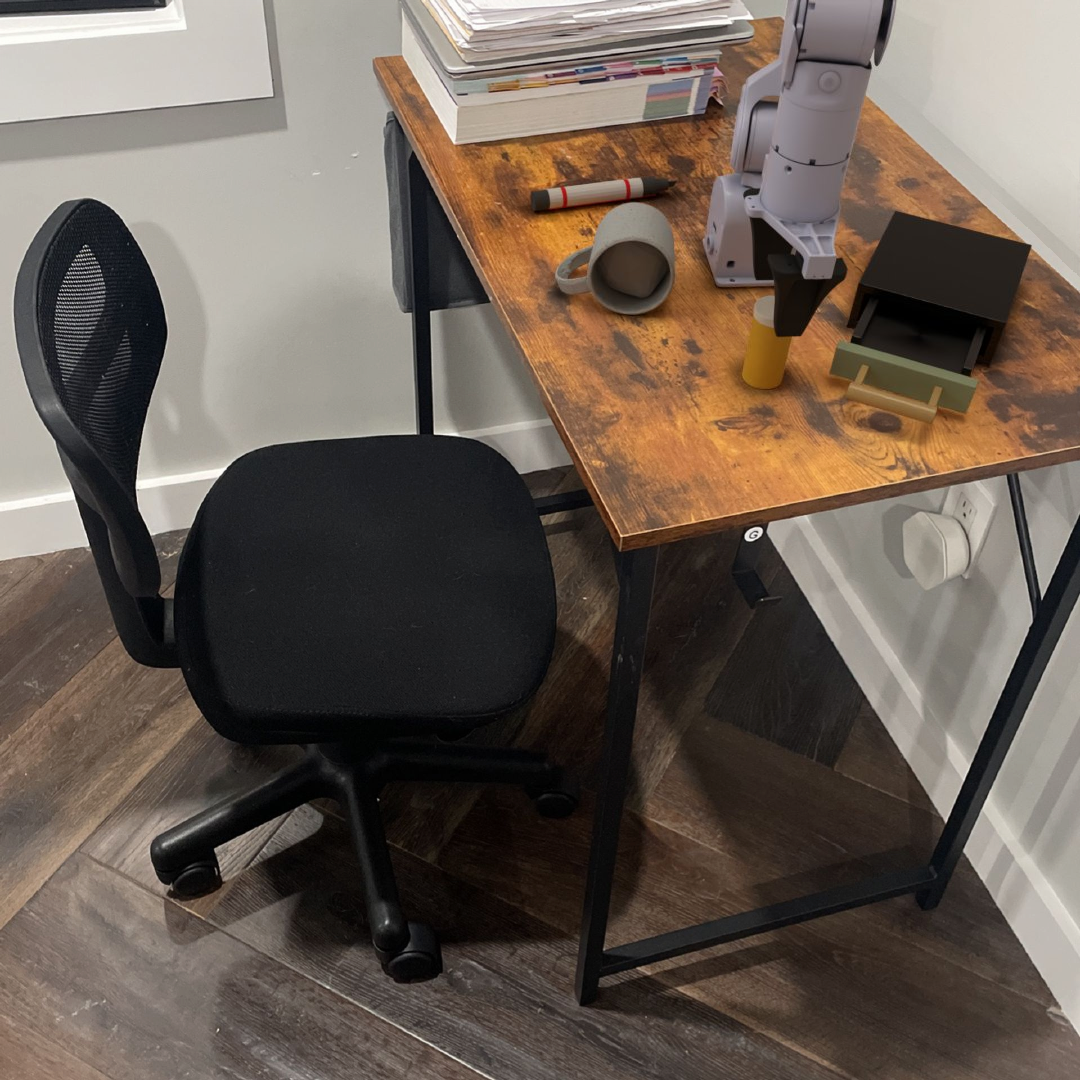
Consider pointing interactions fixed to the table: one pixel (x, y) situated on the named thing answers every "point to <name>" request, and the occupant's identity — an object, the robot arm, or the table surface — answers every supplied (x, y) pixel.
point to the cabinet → (945, 274)
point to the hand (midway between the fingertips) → (777, 305)
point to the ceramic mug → (625, 261)
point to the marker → (598, 192)
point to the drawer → (910, 359)
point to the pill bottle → (765, 348)
